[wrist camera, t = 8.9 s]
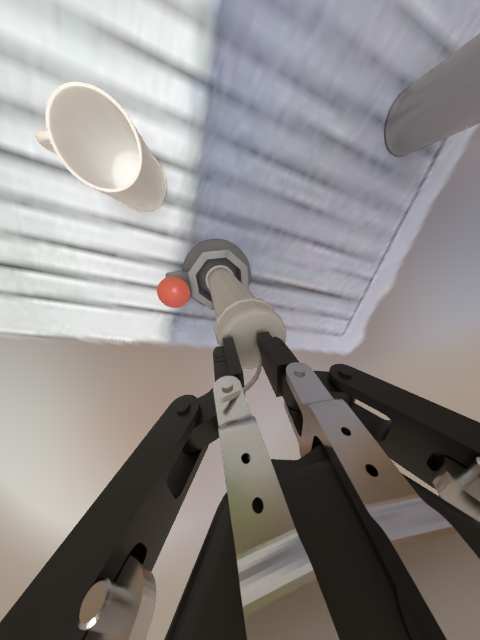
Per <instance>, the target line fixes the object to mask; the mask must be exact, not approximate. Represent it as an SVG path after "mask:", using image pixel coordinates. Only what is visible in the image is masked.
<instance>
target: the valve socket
mask: <svg viewBox="0 0 480 640" xmlns="http://www.w3.org/2000/svg"><path fill="white" fill-rule="evenodd" d="M218 264H220V265H224V266H227V267H228V268H229V269H231V270H232V272H233V274H234V276H235V277H236V278H237V279H238V280H239V281H240V282H241V283H242V284H243V285H244V286H245V287H246V288H247V289H248V287H249V283H250V278H251V271H250V265H249V262H248V260H247V258H246V256H245V254H244V253H243V252H242V251H241V250H240V249H239V248H238V247H237V246H236V245H234V244H232V243H231V242H228V241H225V240H221V239H211V240H206V241H203V242H201V243H199V244H198V245H196V246H195V247H194V248H193V249H192V250H191V251H190V252H189V253H188V255H187V257H186V259H185V261H184V264H183V270H182V271H179V272H171V273H166V278H165V279H163V280H162V281H161V282H160V283H159V285H158V287H157V294H158V297H159V299H160V300H161V302H162V303H164V304H165V305H167V306H169V307H174V308H176V307H181V306H183V305H185V304H186V303H187V302H188V300H189V297H190V295H191V297H192V298H193V299H194V300H196V301H197V302H198V303H200V304H202V305H204V306H207V307H209V308H210V309H212V310H215V309H214V305H213V301H212V297H211V293H210V290H209V289H208V287H207V285H206V281H205V278H206V273H207V271H208V270H209V268H210V267H212V266H213V265H218ZM248 290H249V289H248Z"/></svg>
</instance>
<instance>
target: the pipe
mask: <svg viewBox="0 0 480 640" xmlns="http://www.w3.org/2000/svg"><path fill="white" fill-rule="evenodd" d="M205 281H206V285H207V287H208V289H209V290H210V293H211V297H212V301H213V305H214V309H215V313H216V318H217V319H216V323H215V328H214V329H215V334H216V339H217V343H218V344H219V345H220V346H223V340H222V339H223V338H229V337H233V340H234V343H235V347H236V350H237V353H238V357H239V360H240V364H241V367H242V368H243V369H253V368H257V367H258V368H257V372H256V374H255V376H254V377H253V378H252V380H251V381H250V382H249V383H248V384H247V385H246V386H244V387H243V391H244V392H245V391H247V390H248V389H249V388H250V387H251V386H252V385H253V384H254V383H255V382H256V380H257V379H258V377H259V374H260V372H261V367H262V358H261V353H260V349H259V347H258V345H257V333H259V332H265V331H268V332H269V333H270V335H271V336H272V337H278V338H280V339H281V340H283V342H284V343H285V341H286V327H285V325H284V323H283V321H282V319H281V317H280V316H279V315H278V314H277V313H276V312H275V311H274V309H273V307H272V306H271V305H269V304H268V303H267V302H265V301H264V300H262V299H260V298H256V297H255V296H254V295H253V294H252V293H251V292H250V291H249V290H248V289H247V288H246V287H245V286H244V285H243V284H242V283H241V282H240V281H239V280H238V279H237V278H236V277H235V276H234V274H233V272H232V270H231V269H229V268H228V267H227V266H224V265H220V264H218V265H213V266H212V267H210V268H209V270H208V271H207V273H206V278H205ZM240 394H241V390H238V391H237V392H234V393H232V394H230V395H227V396H225V397H222V398H220V402H221V403H222V404H223V403H225V402H227V401H230V400H232V399H234V398H236V397H238V396H239V395H240Z"/></svg>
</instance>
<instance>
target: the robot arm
mask: <svg viewBox="0 0 480 640" xmlns="http://www.w3.org/2000/svg"><path fill="white" fill-rule="evenodd" d="M479 123H480V34H479V35H477V36H476V37H475V38H473V39H472V40H471V41H469V42H468V43H467V44H465V45H464V46H463V47H461V48H460V49H459V50H457V51H456V52H455V53H453V54H452V55H451V56H449V57H448V58H447V59H445V60H444V61H443V62H441V63H440V64H439V65H437V66H436V67H435V68H433V69H432V70H431V71H429V72H428V73H427V74H425V75H424V76H423V77H421V78H420V79H419V80H417V81H416V82H415V83H413V84H412V85H411V86H409V87H408V88H407V89H405V90H404V91H403V92H402V93H401V94H400V95H399V97H398V98H397V99H396V101H395V102H394V104H393V106H392V108H391V110H390V113H389V115H388V119H387V122H386V129H385V138H386V144H387V147H388V149H389V150H390V152H391V153H392V154H394V155H397V156H403V155H406V154H408V153H411V152H413V151H416V150H418V149H420V148H423V147H425V146H427V145H430V144H432V143H435V142H437V141H439V140H442V139H444V138H446V137H449V136H451V135H453V134H456V133H458V132H460V131H463V130H465V129H467V128H470V127H472V126H474V125H477V124H479ZM222 340H223V346H220V347H216V348H215V350H214V351H213V358H214V371H215V372H214V374H215V384H214V386H213V388H212V389H211V390H210V391H209V392H208V393H207V394H205V395H203V396H201V397H199V398H196V397H195V396H193V395H184V396H181V397H179V398H177V399H176V400H175V401H173V402H172V403H171V404H170V406H169V407H168V408H167V410H166V411H165V412H164V413H163V415H162V416H161V417H160V419H159V420H158V421H157V423H156V424H155V425H154V426H153V427H152V429H151V430H150V431H149V433H148V434H147V435H146V437H145V438H144V439H143V440H142V442H141V443H140V444H139V445H138V447H137V448H136V449H135V451H134V452H133V453H132V454H131V456H130V457H129V458H128V460H127V461H126V462H125V463H124V465H123V466H122V467H121V469H120V470H119V471H118V472H117V474H116V475H115V476H114V477H113V479H112V480H111V481H110V483H109V484H108V485H107V487H106V488H105V489H104V490H103V492H102V493H101V494H100V495H99V497H98V498H97V499H96V501H95V502H94V503H93V504H92V506H91V507H90V508H89V510H88V511H87V512H86V513H85V515H84V516H83V517H82V518H81V520H80V521H79V522H78V524H77V525H76V526H75V527H74V529H73V530H72V531H71V533H70V534H69V535H68V536H67V538H66V539H65V540H64V542H63V543H62V544H61V545H60V547H59V548H58V549H57V551H56V552H55V553H54V554H53V556H52V557H51V558H50V560H49V561H48V562H47V563H46V565H45V566H44V567H43V568H42V570H41V571H40V572H39V574H38V575H37V576H36V577H35V579H34V580H33V581H32V583H31V584H30V585H29V587H28V588H27V589H26V590H25V592H24V593H23V594H22V595H21V597H20V598H19V599H18V601H17V602H16V603H15V604H14V606H13V607H12V608H11V610H10V611H9V612H8V613H7V615H6V616H5V617H4V618H3V620H2V621H1V622H0V640H146V636H147V633H148V630H149V627H150V624H151V621H152V617H153V613H154V608H155V602H156V583H155V579H154V576H153V574H152V572H151V571H152V569H153V567H154V565H155V563H156V560H157V558H158V556H159V553H160V551H161V549H162V547H163V545H164V543H165V540H166V538H167V536H168V534H169V532H170V529H171V527H172V525H173V523H174V521H175V518H176V516H177V514H178V512H179V510H180V507H181V505H182V503H183V501H184V499H185V496H186V494H187V492H188V490H189V487H190V485H191V483H192V481H193V479H194V477H195V474H196V472H197V470H198V468H199V465H200V463H201V461H202V459H203V457H204V455H205V452H206V450H207V448H208V445H209V444H210V443H211V442H213V441H215V440H216V439H218V438H220V445H221V452H222V460H223V467H224V474H225V481H226V487H227V492H226V494H225V495H224V497H223V499H222V501H221V502H220V504H219V506H218V508H217V511H216V513H215V516H214V518H213V520H212V523H211V525H210V528H209V530H208V533H207V535H206V538H205V540H204V543H203V545H202V548H201V550H200V553H199V555H198V558H197V560H196V563H195V565H194V568H193V570H192V573H191V575H190V578H189V580H188V582H187V585H186V587H185V590H184V593H183V595H182V597H181V600H180V602H179V605H178V607H177V610H176V612H175V615H174V617H173V620H172V622H171V625H170V627H169V630H168V632H167V634H166V637H165V640H480V423H479V422H477V421H474V420H472V419H470V418H468V417H465V416H463V415H461V414H458V413H456V412H454V411H452V410H449V409H447V408H444V407H442V406H440V405H438V404H436V403H433V402H431V401H429V400H426V399H424V398H422V397H419V396H417V395H415V394H412V393H410V392H408V391H406V390H403V389H401V388H399V387H396V386H394V385H392V384H390V383H387V382H385V381H383V380H380V379H378V378H375V377H373V376H371V375H369V374H367V373H364V372H362V371H359V370H357V369H355V368H353V367H350V366H348V365H344V364H335V365H333V366H331V368H330V371H329V372H324V371H313V370H312V369H311V367H309V366H308V365H306V364H304V363H300V362H299V361H298V360H297V359H296V357H295V356H294V355H293V353H292V352H291V351H290V349H289V348H288V347H287V346H286V344H285V343H284V342H283V340H281V339H280V338H278V337H272V336H271V335H270V333H269V332H268V331H265V332H259V333H257V345H258V347H259V349H260V353H261V358H262V366H263V368H264V370H265V373H266V375H267V377H268V379H269V381H270V383H271V386H272V388H273V390H274V392H275V394H276V397H279V396H283V398H284V407H285V410H286V412H287V415H288V418H289V420H290V423H291V425H292V428H293V430H294V433H295V435H296V438H297V441H298V444H299V449H300V455H301V458H300V459H299V460H275V459H270V457H269V454H268V451H267V448H266V445H265V443H264V440H263V437H262V434H261V432H260V429H259V426H258V423H257V421H256V419H255V417H254V416H252V414H251V411H250V409H249V406H248V403H247V400H246V397H245V392H244V391H243V387H244V379H243V371H242V367H241V364H240V360H239V357H238V353H237V350H236V347H235V343H234V340H233V337H229V338H223V339H222ZM238 390H241V394H240V395H239V396H238V397H236V398H234V399H232V400H230V401H227V402H225V403H223V404H222V403H221V402H220V398H222V397H225V396H227V395H230V394H232V393H234V392H237V391H238ZM355 399H357V400H359V401H361V402H363V403H365V404H367V405H368V406H370V407H372V408H374V409H376V410H378V411H380V412H381V413H383V414H385V415H386V416H388V417H389V418H390V420H384V419H382V418H380V417H378V416H377V415H375V414H373V413H371V412H369V411H368V410H366V409H364V408H362V407H361V406H359V405H357V404H355V403H354V402H355ZM390 459H392V460H393V461H395V462H396V463H398V464H399V465H401V466H402V467H403V468H405V469H406V470H408V471H410V472H411V473H412V474H414V475H415V476H417V477H418V478H420V479H421V480H423V481H424V482H426V483H427V484H428V485H430V486H431V487H433V488H435V489H436V490H437V492H438V493H439V495H438V496H437V495H436V494H434V493H432V492H431V491H429V490H428V489H426V488H424V487H423V486H421V485H420V484H418V483H416V482H415V481H413V480H412V479H410V478H408V477H407V476H405V475H403V474H402V473H401V472H400V471H399V470H398V468H397V467H396V466H395V465H394V463H393V462H392V461H391V460H390Z"/></svg>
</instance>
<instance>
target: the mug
mask: <svg viewBox="0 0 480 640" xmlns="http://www.w3.org/2000/svg"><path fill="white" fill-rule="evenodd" d="M46 126H47V131H46V130H39V131H37V132H36V134H35V135H36V139H37V141H38V142H39V143H40V144H41V145H42V146H43V147H44V148H46V149H47V150H49V151H51V152H53V153H55V154H57V155H58V157H59V158H60V160H61V161H62V163H63V164H64V165H65V166H66V168H67V169H68V170H69V171H70V172H71V173H72V174H73V175H74V176H75V177H77V178H78V179H79V180H80V181H82V182H83V183H85V184H86V185H88V186H90V187H92V188H94V189H96V190H98V191H100V192H102V193H104V194H106V195H109V196H111V197H113V198H115V199H117V200H119V201H121V202H123V203H125V204H126V205H127V206H129V207H131V208H133V209H135V210H138V211H144V212H146V211H152V210H154V209H156V208H158V207H159V206H160V205H161V204H162V202H163V201H164V199H165V196H166V191H167V184H166V178H165V174H164V172H163V169H162V167H161V166H160V164H159V162H158V161H157V160H156V158H155V157H154V156H153V155H152V154H151V152H150V151H149V149H148V147H147V146H146V144H145V142H144V141H143V139H142V137H141V136H140V134H139V133H138V131H137V129H136V128H135V126H134V124H133V123H132V121H131V119H130V118H129V116H128V115H127V114H126V112H125V111H124V110H123V108H122V107H121V106H120V105H119V104H118V103H117V102H116V101H115V100H114V99H113V98H112V97H111V96H110V95H108V94H107V93H106V92H104V91H103V90H101V89H99V88H97V87H95V86H93V85H90V84H87V83H83V82H68V83H65V84H63V85H61V86H59V87H58V88H56V89H55V90H54V92H53V93H52V94H51V96H50V98H49V100H48V103H47V107H46ZM49 142H51V143H52V144H51V143H49Z"/></svg>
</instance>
